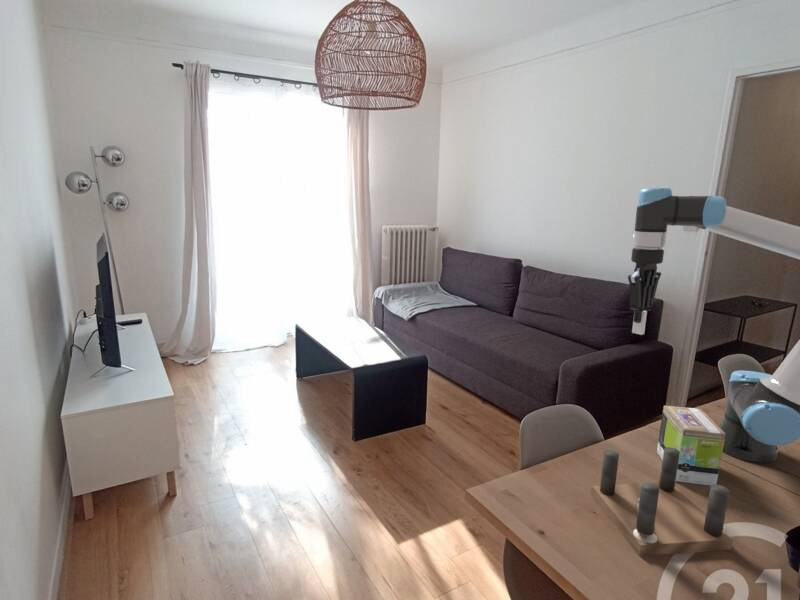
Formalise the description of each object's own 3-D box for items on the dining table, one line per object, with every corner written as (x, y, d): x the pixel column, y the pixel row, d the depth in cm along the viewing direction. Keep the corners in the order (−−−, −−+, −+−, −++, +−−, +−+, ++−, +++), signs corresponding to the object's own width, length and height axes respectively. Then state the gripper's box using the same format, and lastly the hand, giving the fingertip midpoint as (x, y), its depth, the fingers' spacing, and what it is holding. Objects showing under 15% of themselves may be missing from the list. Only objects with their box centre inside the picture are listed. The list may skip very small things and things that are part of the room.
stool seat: (668, 490, 116) (674, 444, 114) (731, 549, 97) (741, 495, 94) (590, 495, 114) (595, 448, 112) (639, 556, 95) (646, 501, 92)
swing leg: (635, 501, 108) (640, 457, 105) (650, 505, 106) (656, 461, 104) (635, 536, 96) (641, 488, 94) (652, 541, 95) (659, 493, 93)
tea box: (718, 487, 118) (727, 433, 115) (674, 482, 120) (682, 429, 117) (694, 455, 132) (701, 407, 129) (655, 451, 134) (662, 403, 131)
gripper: (646, 245, 131) (637, 326, 136) (621, 247, 124) (612, 333, 129) (674, 247, 125) (663, 332, 130) (649, 250, 118) (639, 340, 123)
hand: (638, 333), depth 130 cm, fingers closed
